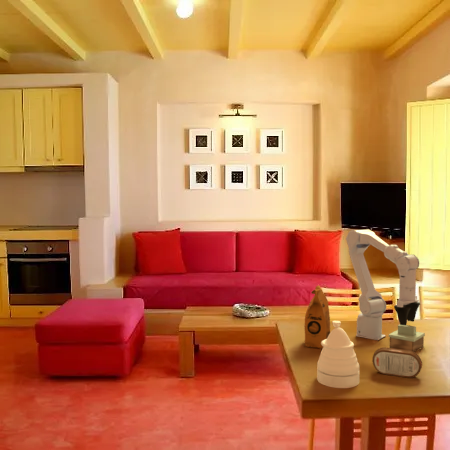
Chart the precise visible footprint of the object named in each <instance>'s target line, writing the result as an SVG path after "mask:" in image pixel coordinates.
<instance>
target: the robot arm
mask: <svg viewBox="0 0 450 450" xmlns="http://www.w3.org/2000/svg"><path fill="white" fill-rule="evenodd" d="M345 240H346V243H347V247H348V255H349V258H350V261H351V264H352V267H353V270H354V274H355V276H356V279H357V283H358V285H359V288H360V292H361V294H360V296H359V297H358V302H359V303H358V305H359V307H358V308H359V311H360V313H359V314H358V315H357V318H356V335H355V336H356V337H358V338H365V339H369V340H373V341H379V340H381V339H382V338H384V337H386V334H383V316H384V313H385V312H386V310H387V303H386V301H385V299H384V298H383V296H382V294H381V293H380V292H379V291H378V290H376V288H375V286H374V282H373V279H372V275H371V273H370V270H369V267H368V264H367V261H366V258H365V256H364V255H365V254H364V253H365V251H366V250H367V249H369V248H368V247H370V246H372V247H374V248H376V249H377V250H379V251H381V252H382V253H383V255H384V257H385V258H386V259H387V260H389V261H390V262H392V263H393V264H395V266H396V268H397V270H398V274H399V286H398V287H399V291H398V292H399V293H398V294H399V295H398V296H399V297H398V299H397V300H398V301H396V304H395V305H393V308H394V311H395V312H396V315H397V318H398V322H399V324H400V325H405V326H406V325H408V323H407V322H415V319H416V315H417V312H418V309H419V307H420V305H421V303H420V301H419V299H418V296H417V294H416V293H417V292H416V289H417V287H416V285H417V283H416V281H417V279H416V277H417V275H416V274H417V270H418V268H419V267H420V259H419V258H418V257H417V255H415V254H412V253H411V254H408V252H407V251H404V250H403V249H400V248H399V246H398V245H397V244H389V243H387V242H385V240H383V239H381V238H380V237H379V236H378V235H376V233H375V232H374V231H372V230H371V229H369V228H366V229H356V230H355V229H351V230H349V231H348V232H347V235H346V238H345Z"/></svg>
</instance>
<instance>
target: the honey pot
mask: <svg viewBox="0 0 450 450" xmlns="http://www.w3.org/2000/svg"><path fill="white" fill-rule="evenodd" d="M341 324H342V322H341V321H340V320H332V325H333V327H334V328H333V329H332V330H330V334H329V336H328V338H327V339H325V340H323V341H322V342H321V345H322V346H323V348H321V349H322V350H321V352H320V355H319V357H318V361H317V363H316V367H317V368H316V375H317V376H316V380H317V381H318V383H319V384H321V385H324V386H326V387H330V388H336V389H349V388H354V387H356V386H358V385H359V384H360V363H359V362H358V358H357V354H356V352H355V350H354V349H355V347H354V346H355V344H354V342H353V341H351V339H350V337H349V335H348V334H347V332H346V331H345V330H344V329H343V328H342V327H340V326H341Z"/></svg>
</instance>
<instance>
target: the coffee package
mask: <svg viewBox="0 0 450 450" xmlns="http://www.w3.org/2000/svg"><path fill="white" fill-rule="evenodd" d="M311 294H312V295H314V296H313V297H312V299H311V300H310V302H309V304H308V307H307V310H306V313H305V315H304V324H303V325H304V345H305V346H306V347H307V348H313V349H314V348H315V349H323V346H322V345H321V342H322V341H323V340H325V339H327V338H328V336H329V334H330V333H331V319H330V318H331V316H330V308H329V307H330V306H329V301H328V299H327V296H326V295H325V293H324V290H322V287H321V286H320V285H317V286H315V289H312V291H311Z"/></svg>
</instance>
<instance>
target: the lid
mask: <svg viewBox="0 0 450 450" xmlns="http://www.w3.org/2000/svg"><path fill="white" fill-rule="evenodd" d="M423 336H424V337H425V336H426V334H425V332H421V331H417V325H416V326H415V325H409V324H406V326H405V325H400V323H399V324H398V325H397V330H395V331H392V332H391V333H389V334H388V338H390V337H391V338H396V339H402V340H407V341H412V342H415V341H416V340H418V339H420V338H422V337H423Z"/></svg>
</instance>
